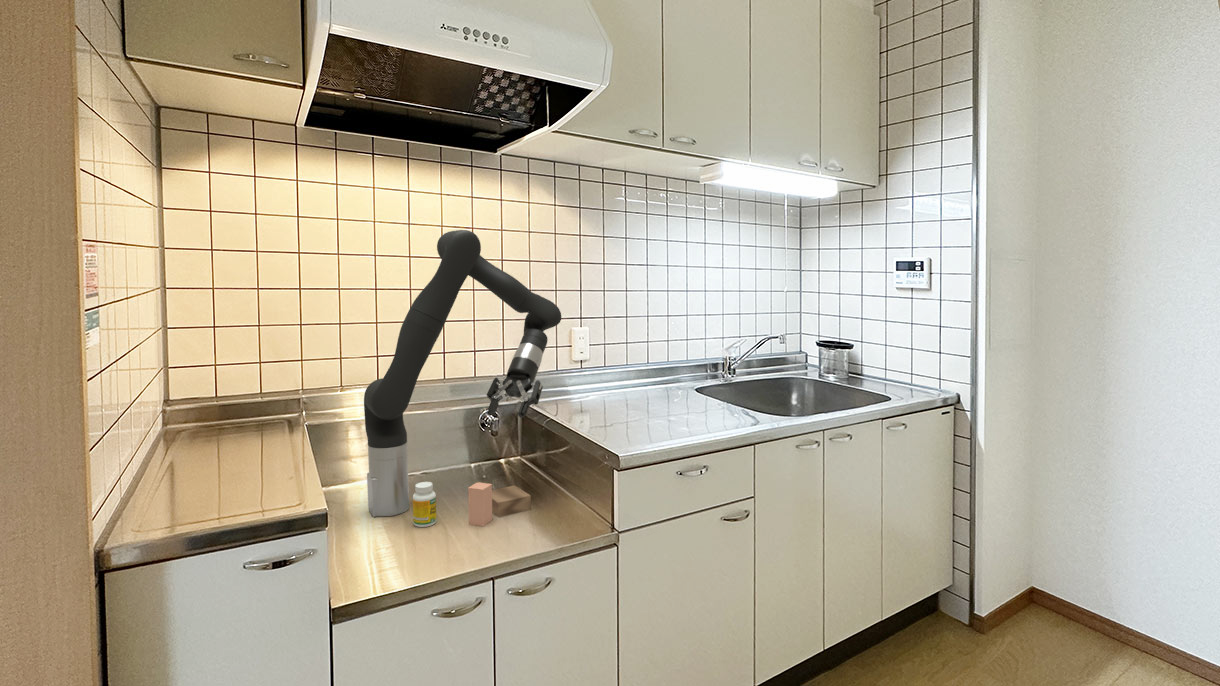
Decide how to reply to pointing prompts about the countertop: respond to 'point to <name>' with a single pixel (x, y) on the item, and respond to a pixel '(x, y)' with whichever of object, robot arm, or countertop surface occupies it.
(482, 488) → the salmon pink block
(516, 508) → the walnut block
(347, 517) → the countertop surface
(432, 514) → the supplement bottle
